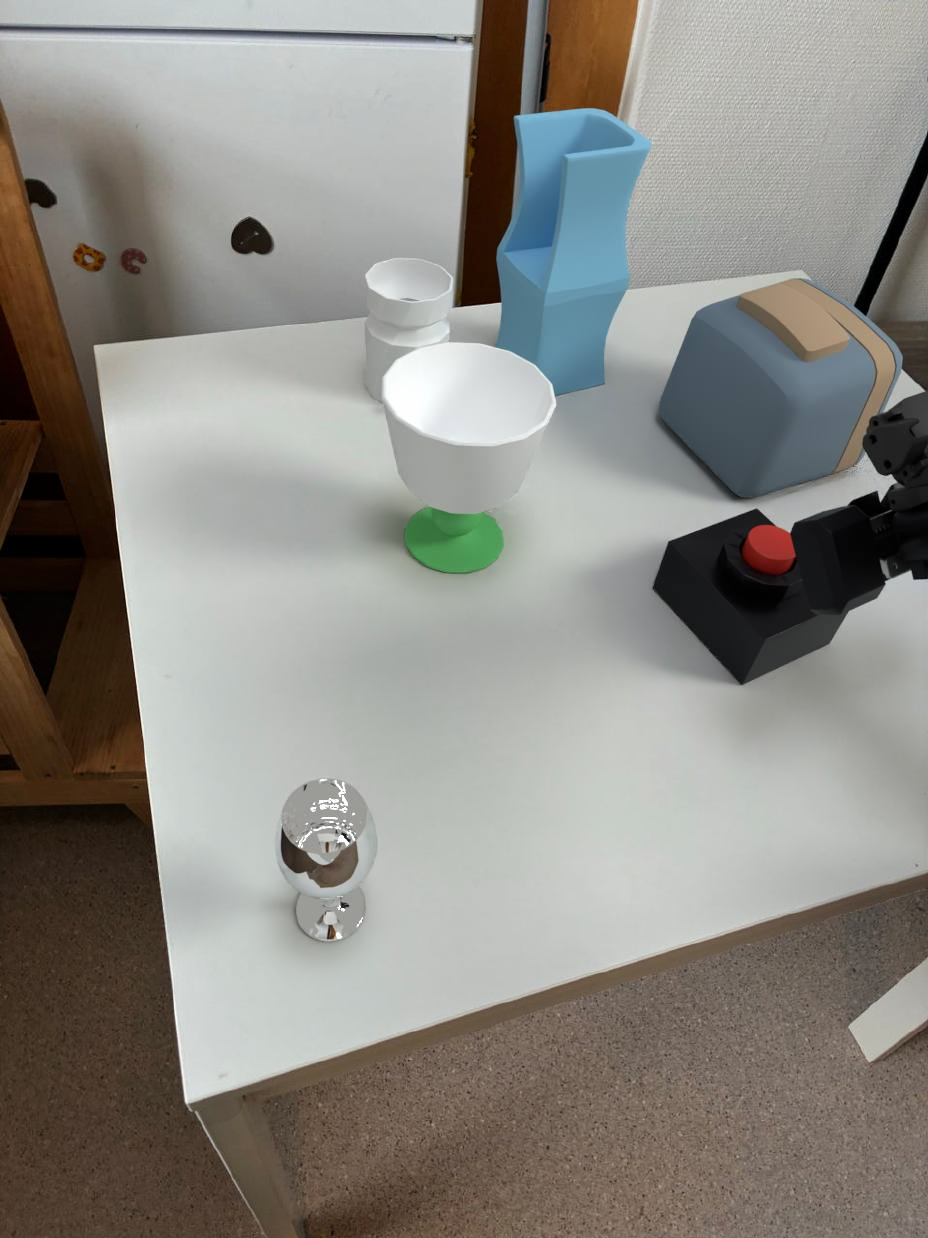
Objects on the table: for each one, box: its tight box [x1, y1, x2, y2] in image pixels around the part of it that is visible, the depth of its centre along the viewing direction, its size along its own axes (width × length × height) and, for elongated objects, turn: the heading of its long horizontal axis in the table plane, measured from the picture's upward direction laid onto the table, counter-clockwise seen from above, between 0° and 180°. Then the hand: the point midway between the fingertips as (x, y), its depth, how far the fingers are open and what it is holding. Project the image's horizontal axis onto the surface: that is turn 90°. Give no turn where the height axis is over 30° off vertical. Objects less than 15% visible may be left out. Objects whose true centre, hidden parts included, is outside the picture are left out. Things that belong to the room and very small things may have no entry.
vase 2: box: [494, 107, 652, 397], centre depth 91 cm, size 10×10×25 cm
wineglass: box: [274, 778, 378, 943], centre depth 53 cm, size 6×6×12 cm
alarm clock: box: [658, 277, 904, 498], centre depth 89 cm, size 16×16×16 cm
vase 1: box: [363, 257, 454, 404], centre depth 92 cm, size 9×9×12 cm
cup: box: [381, 341, 557, 574], centre depth 76 cm, size 14×14×16 cm
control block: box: [651, 507, 850, 686], centre depth 75 cm, size 12×10×8 cm
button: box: [742, 525, 796, 575], centre depth 72 cm, size 4×4×2 cm
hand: (817, 537), depth 67 cm, fingers closed
